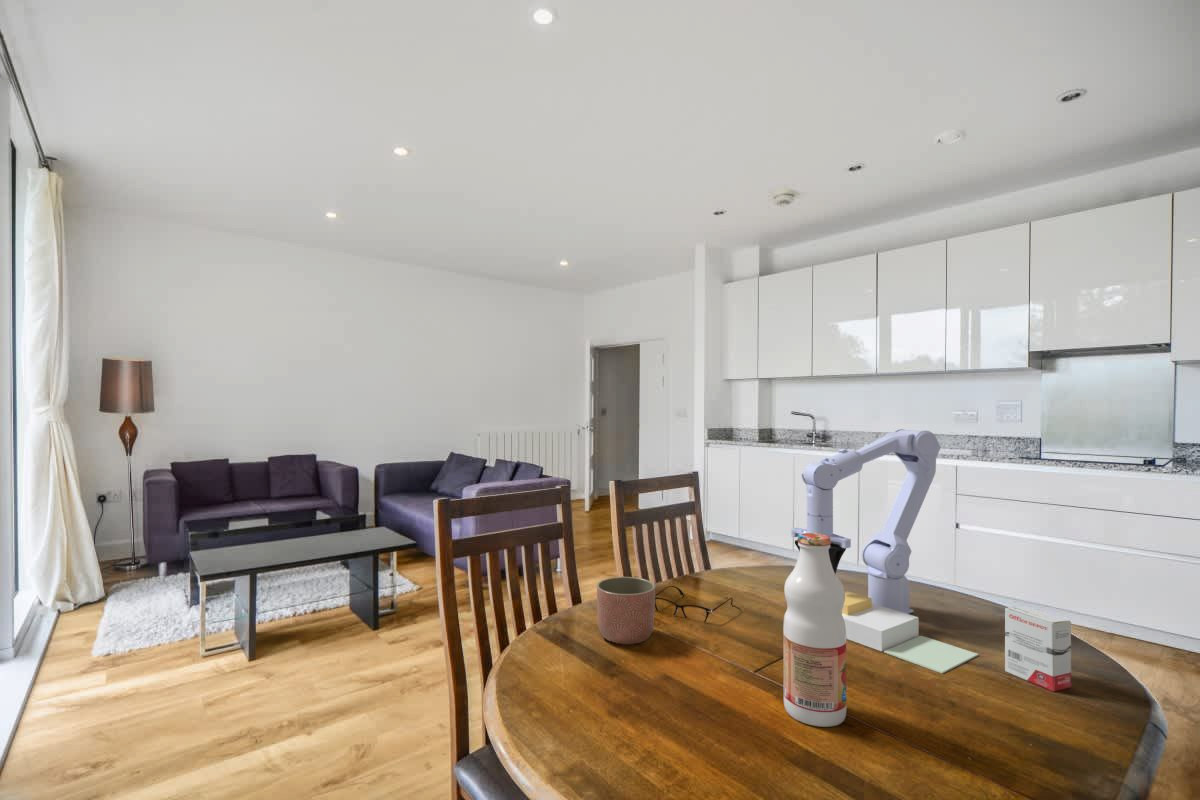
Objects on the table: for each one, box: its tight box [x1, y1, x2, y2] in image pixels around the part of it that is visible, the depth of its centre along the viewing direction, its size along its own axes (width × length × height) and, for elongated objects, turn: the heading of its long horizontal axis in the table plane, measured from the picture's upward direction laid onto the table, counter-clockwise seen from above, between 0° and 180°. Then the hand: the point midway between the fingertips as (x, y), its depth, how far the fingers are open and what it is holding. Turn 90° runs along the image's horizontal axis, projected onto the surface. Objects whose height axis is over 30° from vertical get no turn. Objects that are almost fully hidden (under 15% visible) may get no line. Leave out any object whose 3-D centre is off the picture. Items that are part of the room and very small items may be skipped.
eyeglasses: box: [655, 585, 734, 623], centre depth 140 cm, size 16×16×4 cm
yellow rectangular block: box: [842, 590, 872, 615], centre depth 129 cm, size 9×6×2 cm, turn 124°
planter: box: [596, 576, 656, 645], centre depth 122 cm, size 12×12×11 cm
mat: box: [883, 635, 979, 674], centre depth 114 cm, size 14×11×1 cm
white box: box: [842, 604, 920, 652], centre depth 128 cm, size 14×22×4 cm, turn 34°
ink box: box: [1004, 605, 1072, 692], centre depth 104 cm, size 8×5×12 cm, turn 20°
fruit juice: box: [782, 533, 847, 728], centre depth 92 cm, size 9×9×28 cm
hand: (819, 573), depth 135 cm, fingers open, 5 cm apart
